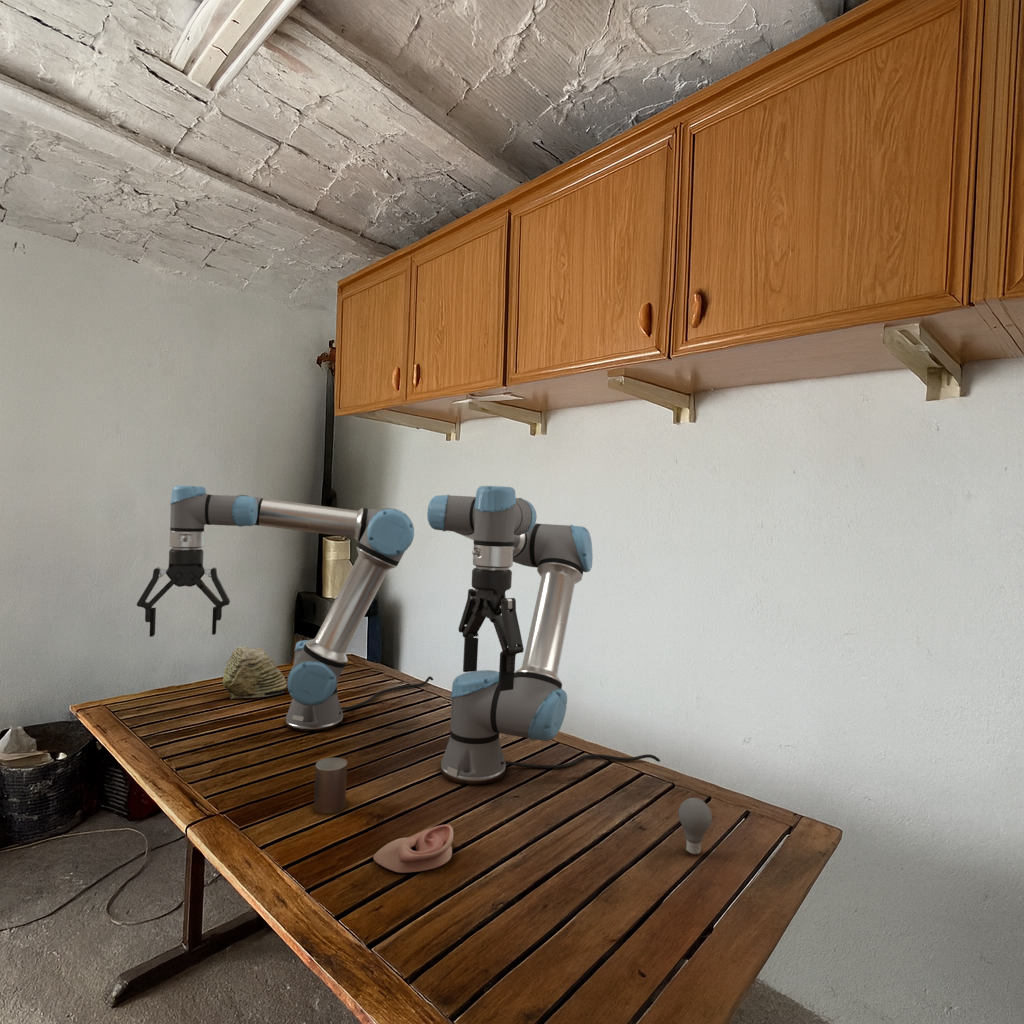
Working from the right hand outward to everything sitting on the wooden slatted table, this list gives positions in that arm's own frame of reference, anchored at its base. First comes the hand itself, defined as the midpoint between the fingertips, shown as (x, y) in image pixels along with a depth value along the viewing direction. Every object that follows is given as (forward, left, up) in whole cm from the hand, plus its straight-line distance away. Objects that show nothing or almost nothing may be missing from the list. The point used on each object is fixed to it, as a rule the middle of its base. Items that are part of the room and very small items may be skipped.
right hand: (487, 680), depth 120 cm
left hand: (+41, -74, -2) cm, 84 cm away
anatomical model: (+13, -1, -30) cm, 33 cm away
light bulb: (-31, +25, -30) cm, 50 cm away
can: (+20, -26, -30) cm, 45 cm away
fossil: (+16, -107, -30) cm, 112 cm away
